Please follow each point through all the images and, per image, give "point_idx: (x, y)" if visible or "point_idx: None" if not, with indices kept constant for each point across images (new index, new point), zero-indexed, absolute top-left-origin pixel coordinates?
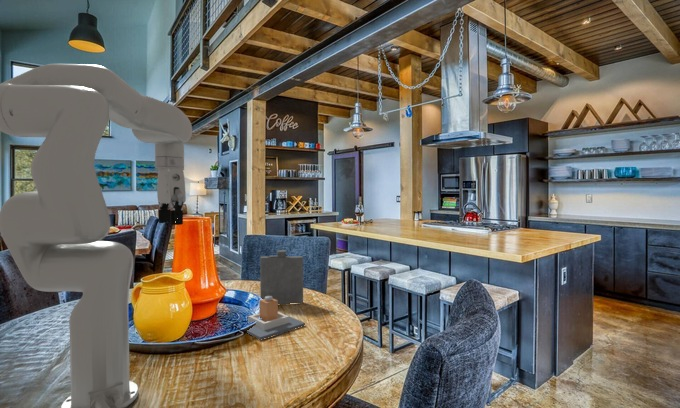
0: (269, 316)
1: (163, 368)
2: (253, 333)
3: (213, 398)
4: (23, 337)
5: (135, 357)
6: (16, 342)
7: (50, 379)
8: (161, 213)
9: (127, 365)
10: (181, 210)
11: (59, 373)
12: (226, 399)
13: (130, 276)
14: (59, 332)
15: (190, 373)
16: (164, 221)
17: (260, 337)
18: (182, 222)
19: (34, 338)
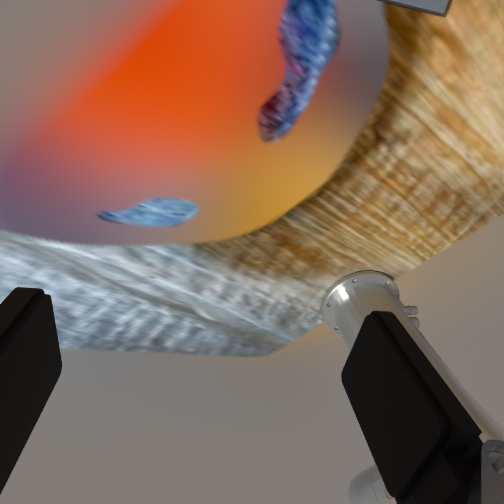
0: None
1: (348, 224)
2: (412, 5)
3: (480, 219)
4: None
5: (269, 236)
6: None
7: (243, 325)
8: (8, 454)
9: (403, 311)
10: (487, 446)
11: (233, 316)
12: (499, 210)
13: (502, 428)
14: (19, 286)
15: (401, 205)
16: (52, 346)
17: (443, 11)
18: (395, 321)
19: None
